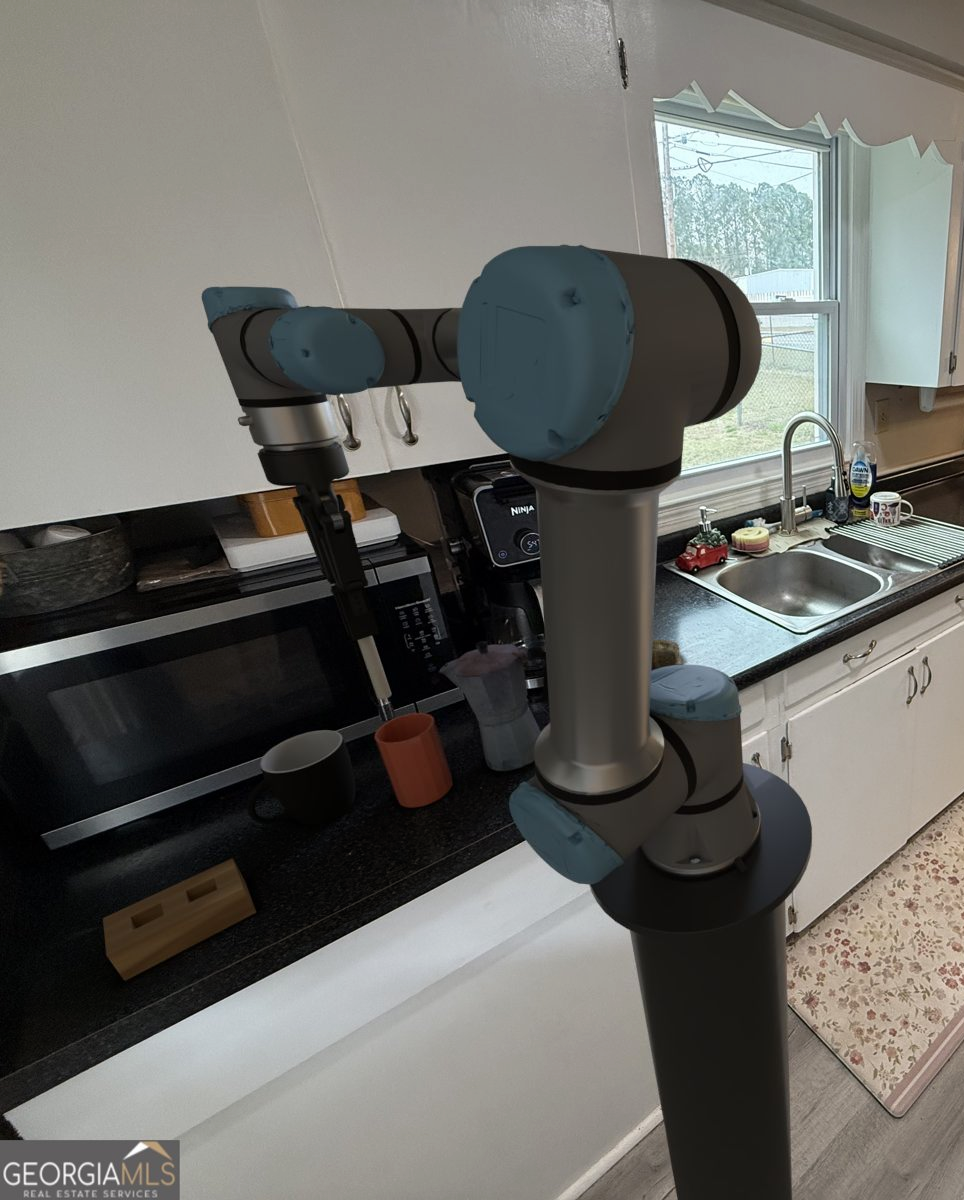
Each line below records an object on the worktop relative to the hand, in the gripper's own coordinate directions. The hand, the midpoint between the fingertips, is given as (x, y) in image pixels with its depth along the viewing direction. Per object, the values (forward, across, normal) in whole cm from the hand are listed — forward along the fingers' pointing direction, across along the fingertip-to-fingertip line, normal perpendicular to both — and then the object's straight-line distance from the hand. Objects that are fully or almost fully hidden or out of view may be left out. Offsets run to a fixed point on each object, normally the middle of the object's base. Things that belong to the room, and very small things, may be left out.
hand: (363, 633), depth 78 cm
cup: (+26, 0, +1) cm, 26 cm away
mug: (+26, -6, -11) cm, 29 cm away
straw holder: (+26, +4, -25) cm, 36 cm away
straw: (+9, 0, 0) cm, 9 cm away
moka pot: (+26, +2, +14) cm, 30 cm away
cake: (+26, -4, +45) cm, 52 cm away
